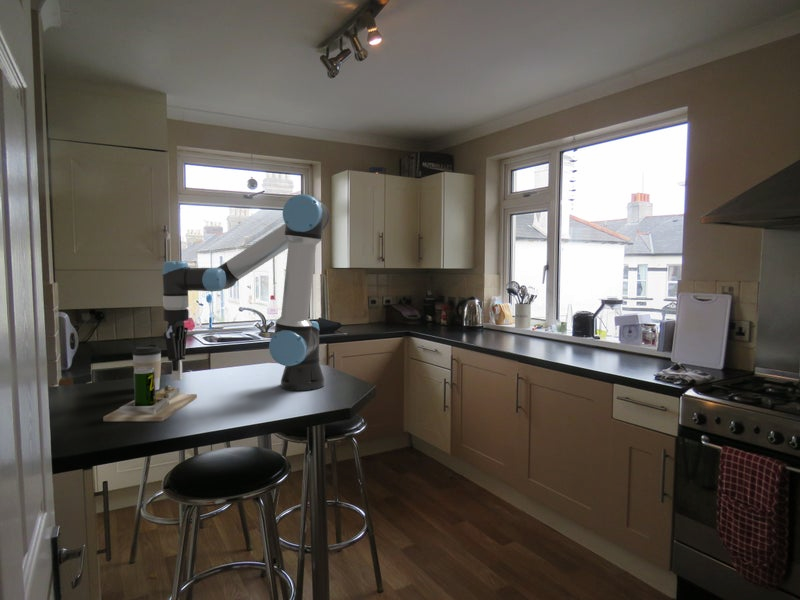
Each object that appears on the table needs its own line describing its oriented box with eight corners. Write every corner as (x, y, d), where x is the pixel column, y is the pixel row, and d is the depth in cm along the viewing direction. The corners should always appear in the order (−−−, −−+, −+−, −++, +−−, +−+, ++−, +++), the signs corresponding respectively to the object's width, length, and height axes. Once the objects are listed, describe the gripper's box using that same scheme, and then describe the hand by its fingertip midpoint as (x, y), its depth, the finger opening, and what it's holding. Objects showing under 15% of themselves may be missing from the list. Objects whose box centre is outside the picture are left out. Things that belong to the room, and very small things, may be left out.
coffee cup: (150, 393, 168) (149, 348, 167) (127, 391, 170) (125, 347, 168) (168, 386, 177) (167, 344, 176) (145, 385, 178) (144, 343, 177)
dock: (196, 397, 162) (196, 388, 162) (162, 421, 138) (161, 409, 138) (146, 397, 162) (146, 388, 162) (103, 421, 138) (102, 409, 138)
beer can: (132, 412, 142) (131, 370, 141) (137, 407, 147) (136, 366, 146) (153, 411, 143) (152, 369, 142) (157, 406, 148) (156, 365, 148)
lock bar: (175, 393, 162) (175, 383, 162) (163, 400, 154) (163, 389, 154) (168, 393, 162) (167, 383, 162) (156, 400, 154) (155, 389, 154)
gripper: (173, 306, 172) (174, 375, 173) (154, 310, 159) (156, 384, 160) (195, 307, 172) (196, 375, 173) (178, 310, 159) (180, 384, 160)
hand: (177, 379), depth 167 cm, fingers closed
